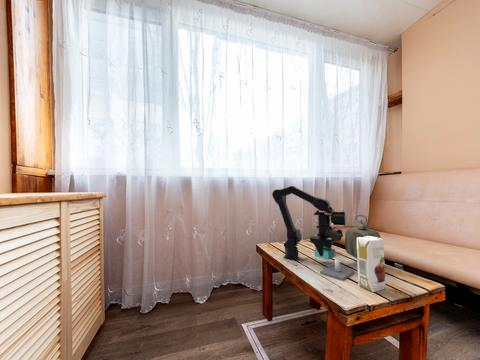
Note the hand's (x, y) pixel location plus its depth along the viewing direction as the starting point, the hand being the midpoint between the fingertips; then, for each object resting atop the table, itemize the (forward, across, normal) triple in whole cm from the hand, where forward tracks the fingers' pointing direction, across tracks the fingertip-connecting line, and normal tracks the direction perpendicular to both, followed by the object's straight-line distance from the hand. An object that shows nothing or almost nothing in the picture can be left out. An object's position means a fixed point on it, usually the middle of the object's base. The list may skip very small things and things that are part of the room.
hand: (324, 254), depth 109 cm
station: (+4, -8, -10) cm, 14 cm away
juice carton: (+5, -12, -25) cm, 28 cm away
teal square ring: (+1, 0, 0) cm, 1 cm away
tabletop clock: (+5, +11, -14) cm, 18 cm away
